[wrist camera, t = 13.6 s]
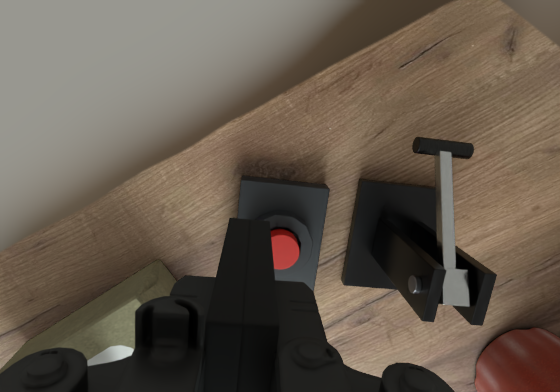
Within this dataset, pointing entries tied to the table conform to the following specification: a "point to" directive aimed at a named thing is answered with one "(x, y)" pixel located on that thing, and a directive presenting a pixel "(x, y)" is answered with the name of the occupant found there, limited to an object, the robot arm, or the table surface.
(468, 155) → the lever
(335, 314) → the table surface
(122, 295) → the tissue box
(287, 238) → the button
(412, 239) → the bracket
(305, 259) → the button block
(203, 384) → the robot arm
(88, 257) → the table surface
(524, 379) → the flower pot
